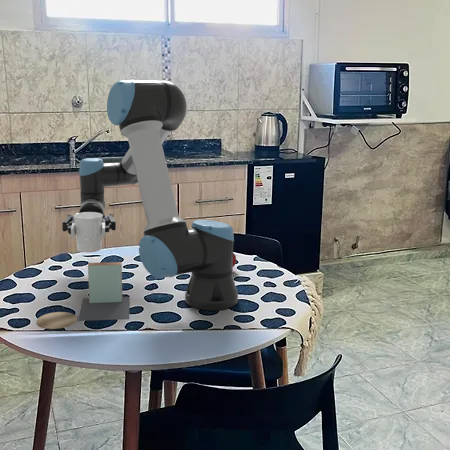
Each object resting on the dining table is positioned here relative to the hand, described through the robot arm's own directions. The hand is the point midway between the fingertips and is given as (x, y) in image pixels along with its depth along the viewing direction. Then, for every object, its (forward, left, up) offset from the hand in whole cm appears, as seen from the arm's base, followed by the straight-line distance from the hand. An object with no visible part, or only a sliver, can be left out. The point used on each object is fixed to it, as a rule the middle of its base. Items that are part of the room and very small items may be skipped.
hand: (88, 233), depth 161 cm
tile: (-5, -2, -19) cm, 20 cm away
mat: (-8, +2, -20) cm, 22 cm away
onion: (-18, -45, -20) cm, 52 cm away
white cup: (+3, -4, -6) cm, 8 cm away
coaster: (-3, +15, -20) cm, 25 cm away
